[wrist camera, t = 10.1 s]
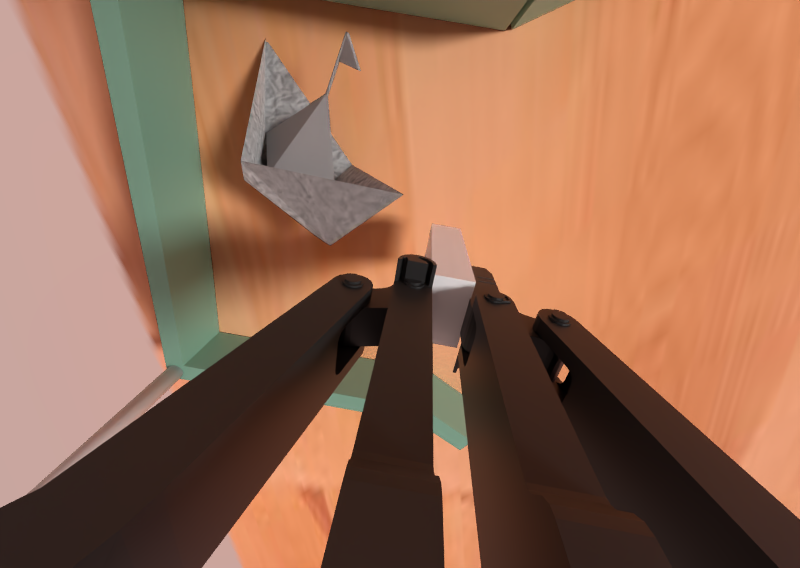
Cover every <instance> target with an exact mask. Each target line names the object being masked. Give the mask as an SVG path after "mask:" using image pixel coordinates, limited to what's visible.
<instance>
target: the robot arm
mask: <svg viewBox="0 0 800 568" xmlns="http://www.w3.org/2000/svg"><path fill="white" fill-rule="evenodd" d="M372 288H373V284H372V282H371V281H370V280H369V279H368V278H366V277H363V276H360V275H357V274H351V273H350V274H343V275H339V276H337V277H334V278H333V279H332V280H330V281H329V282H328V283H326V284H325V285H323V286H322V287H321V288H319V289H318V290H316V291H315V292H314V293H312V294H311V295H309V296H308V297H307V298H305V299H304V300H302V301H301V302H300V303H298V304H297V305H295V306H294V307H293V308H291V309H290V310H288V311H287V312H286V313H284V314H283V315H281V316H280V317H279V318H277V319H276V320H274V321H273V322H272V323H270V324H269V325H267V326H266V327H265V328H263V329H262V330H260V331H259V332H258V333H256V334H255V335H253V336H252V337H251V338H249V339H248V340H246V341H245V342H244V343H242V344H241V345H239V346H238V347H237V348H235V349H234V350H233V351H231V352H230V353H228V354H227V355H226V356H224V357H223V358H221V359H220V360H219V361H217V362H216V363H214V364H213V365H212V366H210V367H209V368H207V369H206V370H205V371H203V372H202V373H200V374H199V375H198V376H196V377H195V378H193V379H192V380H191V381H189V382H188V383H186V384H185V385H184V386H182V387H181V388H179V389H178V390H177V391H175V392H174V393H172V394H171V395H170V396H168V397H167V398H165V399H164V400H163V401H161V402H160V403H158V404H157V405H156V406H154V407H153V408H151V409H150V410H149V411H147V412H146V413H144V414H143V415H142V416H140V417H139V418H138V419H136V420H135V421H133V422H132V423H131V424H129V425H128V426H126V427H125V428H124V429H122V430H121V431H119V432H118V433H117V434H115V435H114V436H112V437H111V438H110V439H108V440H107V441H105V442H104V443H103V444H101V445H100V446H98V447H97V448H96V449H94V450H93V451H91V452H90V453H89V454H87V455H86V456H84V457H83V458H82V459H80V460H79V461H77V462H76V463H75V464H73V465H72V466H70V467H69V468H68V469H66V470H65V471H63V472H62V473H61V474H59V475H58V476H56V477H55V478H54V479H52V480H51V481H49V482H48V483H47V484H45V485H44V486H43V487H41V488H39V489H37V490H35V491H33V492H31V493H29V494H27V495H25V496H23V497H21V498H19V499H17V500H15V501H13V502H11V503H9V504H7V505H5V506H3V507H1V508H0V568H202V567H203V565H204V564H205V563H206V561H207V560H208V559H209V557H210V556H211V554H212V553H213V552H214V551H215V549H216V548H217V547H218V545H219V544H220V543H221V541H222V540H223V539H224V537H225V536H226V535H227V533H228V532H229V531H230V529H231V528H232V527H233V525H234V524H235V523H236V521H237V520H238V519H239V517H240V516H241V515H242V513H243V512H244V511H245V509H246V508H247V507H248V505H249V504H250V503H251V501H252V500H253V499H254V497H255V496H256V495H257V493H258V492H259V491H260V489H261V488H262V487H263V485H264V484H265V483H266V481H267V480H268V479H269V477H270V476H271V475H272V473H273V472H274V471H275V469H276V468H277V467H278V465H279V464H280V463H281V461H282V460H283V459H284V457H285V456H286V455H287V453H288V452H289V451H290V449H291V448H292V447H293V445H294V444H295V443H296V441H297V440H298V439H299V437H300V436H301V435H302V433H303V432H304V431H305V429H306V428H307V427H308V425H309V424H310V423H311V421H312V420H313V419H314V417H315V416H316V415H317V413H318V412H319V411H320V409H321V408H322V407H323V405H324V404H325V403H326V401H327V400H328V399H329V397H330V396H331V395H332V393H333V392H334V391H335V389H336V388H337V387H338V385H339V384H340V383H341V381H342V380H343V379H344V377H345V376H346V375H347V373H348V372H349V371H350V369H351V368H352V367H353V365H354V364H355V363H356V361H357V360H358V359H359V357H360V356H361V355H362V353H363V351H364V346H378V350H377V354H376V358H375V363H374V367H373V371H372V375H371V379H370V383H369V387H368V391H367V395H366V399H365V403H364V408H363V412H362V416H361V420H360V424H359V428H358V432H357V436H356V440H355V444H354V448H353V452H352V456H351V459H349V461H348V464H347V467H346V471H345V474H344V478H343V482H342V486H341V490H340V494H339V498H338V502H337V506H336V510H335V514H334V518H333V522H332V525H331V529H330V533H329V537H328V541H327V545H326V549H325V553H324V557H323V561H322V565H321V568H444V538H443V505H442V488H441V481H440V478H439V476H435V475H434V468H433V343H434V344H440V345H445V346H450V347H456V348H457V345H458V342H459V338H460V336H461V346H460V349H459V353H458V356H457V359H456V363H455V366H454V370H453V372H454V373H456V371H457V369H458V368H459V370H460V379H461V388H462V397H463V406H464V415H465V424H466V433H467V442H468V451H469V460H470V469H471V478H472V487H473V496H474V505H475V514H476V523H477V532H478V541H479V550H480V559H481V568H800V519H798V518H797V517H796V516H795V515H794V514H793V513H792V512H791V511H790V510H788V509H787V508H786V507H785V506H784V505H783V504H782V503H781V502H779V501H778V500H777V499H776V498H775V497H774V496H773V495H772V494H770V493H769V492H768V491H767V490H766V489H765V488H764V487H763V486H761V485H760V484H759V483H758V482H757V481H756V480H755V479H754V478H753V477H751V476H750V475H749V474H748V473H747V472H746V471H745V470H744V469H742V468H741V467H740V466H739V465H738V464H737V463H736V462H735V461H733V460H732V459H731V458H730V457H729V456H728V455H727V454H726V453H724V452H723V451H722V450H721V449H720V448H719V447H718V446H717V445H716V444H714V443H713V442H712V441H711V440H710V439H709V438H708V437H707V436H705V435H704V434H703V433H702V432H701V431H700V430H699V429H698V428H696V427H695V426H694V425H693V424H692V423H691V422H690V421H689V420H687V419H686V418H685V417H684V416H683V415H682V414H681V413H680V412H678V411H677V410H676V409H675V408H674V407H673V406H672V405H671V404H670V403H668V402H667V401H666V400H665V399H664V398H663V397H662V396H661V395H659V394H658V393H657V392H656V391H655V390H654V389H653V388H652V387H650V386H649V385H648V384H647V383H646V382H645V381H644V380H643V379H641V378H640V377H639V376H638V375H637V374H636V373H635V372H634V371H633V370H631V369H630V368H629V367H628V366H627V365H626V364H625V363H624V362H622V361H621V360H620V359H619V358H618V357H617V356H616V355H615V354H613V353H612V352H611V351H610V350H609V349H608V348H607V347H606V346H604V345H603V344H602V343H601V342H600V341H599V340H598V339H597V338H596V337H594V336H593V335H592V334H591V333H590V332H589V331H588V330H587V329H585V328H584V327H583V326H582V325H581V324H580V323H579V322H578V321H576V320H575V319H574V318H572V317H571V316H569V315H567V314H566V313H564V312H562V311H560V312H559V310H551V309H542V310H540V311H539V312H538V314H537V317H536V319H535V318H532V317H529V316H526V315H523V314H521V313H519V312H518V310H517V308H516V306H515V303H514V302H513V301H512V299H511V298H510V297H508V296H506V295H504V294H502V293H500V292H499V290H498V287H497V285H496V283H495V280H494V278H493V276H492V274H491V273H490V272H489V271H488V270H486V269H485V268H480V267H474V266H471V263H470V260H469V257H468V253H467V250H466V246H465V243H464V239H463V236H462V232H461V229H459V228H454V227H448V226H443V225H437V224H432V225H431V230H430V235H429V240H428V245H427V249H426V254H425V257H423V256H419V255H412V254H410V255H403V256H400V257H399V258H398V263H397V269H396V275H395V281H394V285H392V286H390V287H388V288H381V289H372ZM563 364H565V365H566V367H567V368H568V369H569V373H568V375H567V377H566V379H565V381H564V382H562V381H560V379H559V378H558V377H557V376H558V374H559V372H560V370H561V368H562V366H563Z"/></svg>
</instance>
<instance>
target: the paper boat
mask: <svg viewBox="0 0 800 568" xmlns="http://www.w3.org/2000/svg"><path fill="white" fill-rule="evenodd" d="M339 61H340V62H342V63H344V64H346V65H348V66H350V67H352V68H355V69H357V70H359V71H361V70H360V67H359V64H358V60H357V57H356V54H355V51H354V48H353V44H352V41H351V38H350V35H349V33H348V32H346V33H345V36H344V39H343V42H342V45H341V48H340V51H339V54H338V57H337V60H336V63H335V66H334V69H333V73H332V76H331V79H330V82H329V85H328V88H327V91H326V94H324V95H323V96H321V97H320V98H318V99H317V100H315V101H314V102H312V103H311V104H310V103H309V101H308V100H307V98H306V97H305V96H304V94H303V93H302V91H301V90H300V88H299V87H298V85H297V84H296V82H295V81H294V79H293V78H292V76H291V75H290V74H289V72H288V71H287V69H286V68H285V66H284V65H283V63H282V62H281V60H280V59H279V57H278V56H277V55H276V53H275V52H274V50H273V49H272V47H271V46H270V44H269V43H268V42H266V39H265V44H264V49H263V54H262V59H261V63H260V68H259V73H258V78H257V83H256V88H255V93H254V98H253V103H252V108H251V113H250V117H249V122H248V127H247V132H246V137H245V142H244V147H243V152H242V157H241V165H242V171H243V176H244V180H245V181H246V182H247V183H249V184H250V185H251V186H253V187H254V188H255V189H256V190H258V191H259V192H260V193H261V194H263V195H264V196H265V197H267V198H268V199H269V200H270V201H272V202H273V203H274V204H275V205H277V206H278V207H279V208H281V209H282V210H283V211H284V212H286V213H287V214H288V215H289V216H291V217H292V218H293V219H295V220H296V221H297V222H298V223H300V224H301V225H302V226H304V227H305V228H306V229H307V230H309V231H310V232H311V233H312V234H314V235H315V236H316V237H318V238H319V239H321V240H322V241H324V242H325V243H327V244H328V245H332V244H333V243H335V242H336V241H338V240H339V239H340V238H342V237H343V236H345V235H346V234H348V233H349V232H350V231H352V230H353V229H355V228H356V227H358V226H359V225H360V224H362V223H363V222H365V221H366V220H368V219H369V218H371V217H372V216H373V215H375V214H376V213H378V212H379V211H381V210H382V209H383V208H385V207H386V206H388V205H389V204H391V203H392V202H393V201H395V200H396V199H398V198H399V197H401V196H402V195H403V194H402V193H400V192H398V191H396V190H395V189H393V188H391V187H389V186H388V185H386V184H384V183H382V182H381V181H379V180H377V179H376V178H374V177H372V176H370V175H369V174H367V173H365V172H363V171H362V170H360V169H358V168H356V167H355V166H353V165H352V164H351V163H350V161H349V160H348V158H347V157H346V156H345V154H344V153H343V151H342V150H341V148H340V147H339V145H338V144H337V142H336V141H335V139H334V138H333V137H332V135H331V131H330V118H329V105H328V94H329V91H330V88H331V85H332V82H333V79H334V76H335V73H336V70H337V67H338V64H339Z"/></svg>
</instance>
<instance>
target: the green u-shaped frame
mask: <svg viewBox="0 0 800 568" xmlns="http://www.w3.org/2000/svg"><path fill="white" fill-rule="evenodd" d="M324 1H330V2H336V3H342V4H348V5H354V6H360V7H366V8H372V9H378V10H384V11H390V12H396V13H402V14H408V15H414V16H420V17H426V18H432V19H438V20H444V21H450V22H456V23H462V24H468V25H474V26H480V27H486V28H492V29H498V30H504V31H505V30H506V29H507V27H508V26H509V25H510V23H511V28H512V29H514V28H516V27H518V26H521V25H523V24H525V23H527V22H529V21H531V20H533V19H536V18H538V17H540V16H542V15H544V14H546V13H548V12H551V11H553V10H555V9H557V8H559V7H561V6H563V5H565V4H568V3H570V2H572V1H574V0H324ZM90 3H91V8H92V12H93V17H94V22H95V27H96V32H97V36H98V41H99V46H100V51H101V55H102V60H103V65H104V70H105V75H106V79H107V84H108V89H109V94H110V99H111V103H112V108H113V113H114V118H115V123H116V127H117V132H118V137H119V142H120V147H121V151H122V156H123V161H124V166H125V170H126V175H127V180H128V185H129V190H130V194H131V199H132V204H133V209H134V214H135V218H136V223H137V228H138V233H139V238H140V242H141V247H142V252H143V257H144V262H145V266H146V271H147V276H148V281H149V285H150V290H151V295H152V300H153V305H154V309H155V314H156V319H157V324H158V329H159V333H160V338H161V343H162V348H163V353H164V357H165V362H166V367H167V369H166V370H165V371H164V372H163V373H162V374H161V375H159V376H158V377H157V378H156V379H155V380H154V381H153V382H152V383H151V384H149V385H148V386H147V387H146V388H145V389H144V390H143V391H142V392H140V393H139V394H138V395H137V396H136V397H135V398H134V399H133V400H132V401H130V402H129V403H128V404H127V405H126V406H125V407H124V408H123V409H122V410H120V411H119V412H118V413H117V414H116V415H115V416H114V417H113V418H112V419H110V420H109V421H108V422H107V423H106V424H105V425H104V426H103V427H102V428H100V429H99V430H98V431H97V432H96V433H95V434H94V435H93V436H91V437H90V438H89V439H88V440H87V441H86V442H85V443H84V444H83V445H81V446H80V447H79V448H78V449H77V450H76V451H75V452H74V453H72V454H71V455H70V456H69V457H68V458H67V459H66V460H65V461H64V462H63V463H61V464H60V465H59V466H58V467H57V468H56V469H55V470H54V471H52V472H51V473H50V474H49V475H48V476H47V477H46V478H45V479H44V480H42V481H41V482H40V483H39V484H38V485H37V486H36V487H35V488H34V489H32V490H31V491H30V492H29V493H31V492H33V491H35V490H37V489H39V488H41V487H43V486H44V485H45V484H47V483H48V482H49V481H51V480H52V479H54V478H55V477H56V476H58V475H59V474H61V473H62V472H63V471H65V470H66V469H68V468H69V467H70V466H72V465H73V464H75V463H76V462H77V461H79V460H80V459H82V458H83V457H84V456H86V455H87V454H89V453H90V452H91V451H93V450H94V449H96V448H97V447H98V446H100V445H101V444H103V443H104V442H105V441H107V440H108V439H110V438H111V437H112V436H114V435H115V434H117V433H118V432H119V431H121V430H122V429H124V428H125V427H126V426H128V425H129V424H131V423H132V422H133V421H135V420H136V419H138V418H139V417H140V416H142V415H143V414H144V413H145V412H146V411H147V410H148V409H149V408H150V407H151V406H152V405H153V404H154V403H155V402H156V401H157V400H158V399H159V398H160V397H161V396H162V395H163V394H164V393H165V392H166V391H167V390H168V389H169V388H170V387H171V386H172V385H173V384H174V383H175V382H176V381H178V380H179V379H185V380H190V381H191V380H192V379H193V378H195V377H196V376H198V375H199V374H200V373H202V372H203V371H205V370H206V369H207V368H209V367H210V366H212V365H213V364H214V363H216V362H217V361H219V360H220V359H221V358H223V357H224V356H226V355H227V354H228V353H230V352H231V351H233V350H234V349H235V348H237V347H238V346H239V345H241V344H242V343H244V342H245V341H246V340H248V339H249V338H251V337H245V336H240V335H234V334H229V333H223V332H219V324H218V315H217V306H216V297H215V288H214V278H213V269H212V260H211V251H210V242H209V233H208V224H207V215H206V206H205V197H204V188H203V179H202V170H201V161H200V152H199V143H198V133H197V124H196V115H195V106H194V97H193V88H192V79H191V70H190V61H189V52H188V43H187V34H186V25H185V16H184V7H183V0H90ZM374 363H375V360H373V359H367V358H362V357H359V359H358V360H357V361H356V363H355V364H354V365H353V367H352V368H351V369H350V371H349V372H348V373H347V375H346V376H345V377H344V379H343V380H342V381H341V383H340V384H339V385H338V387H337V388H336V389H335V391H334V392H333V393H332V395H331V396H330V397H329V399H328V400H327V401H326V403H325V404H324V405H327V406H333V407H338V408H344V409H349V410H355V411H360V412H363V408H364V403H365V399H366V395H367V391H368V387H369V383H370V379H371V375H372V371H373V367H374ZM433 433H435V434H436V435H438V436H439V437H441V438H442V439H444V440H445V441H447V442H448V443H450V444H451V445H453V446H454V447H456V448H457V449H459V450H461V449H462V448H464V447H465V446H467V445H468V442H467V433H466V424H465V415H464V406H463V397H462V394H461V393H459V392H458V391H456V390H455V389H453V388H452V387H451V386H449V385H448V384H446V383H445V382H444V381H442V380H441V379H439V378H438V377H437V376H435V375H434V374H433ZM29 493H28V494H29Z"/></svg>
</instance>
